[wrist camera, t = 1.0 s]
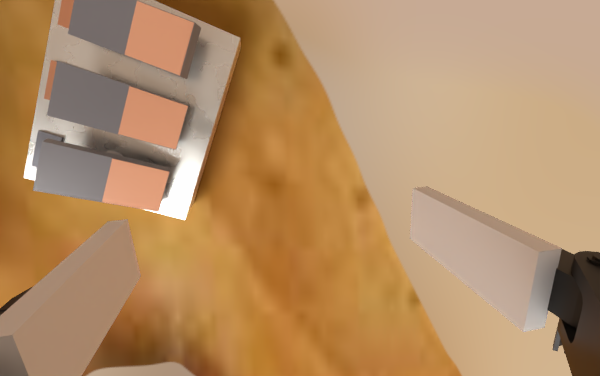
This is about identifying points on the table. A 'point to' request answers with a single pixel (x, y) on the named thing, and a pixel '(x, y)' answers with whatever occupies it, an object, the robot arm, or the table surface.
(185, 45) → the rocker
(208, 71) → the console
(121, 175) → the rocker
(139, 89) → the rocker
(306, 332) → the table surface
